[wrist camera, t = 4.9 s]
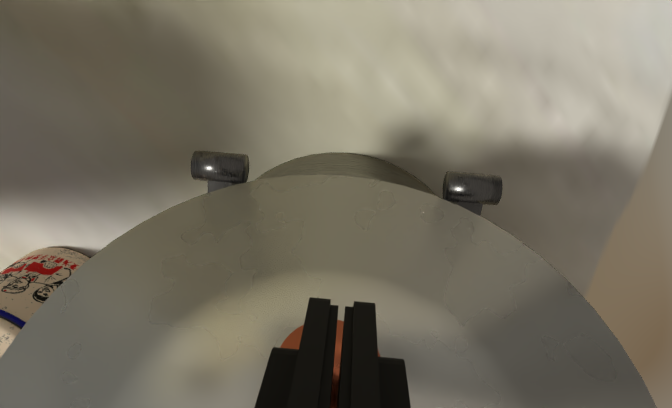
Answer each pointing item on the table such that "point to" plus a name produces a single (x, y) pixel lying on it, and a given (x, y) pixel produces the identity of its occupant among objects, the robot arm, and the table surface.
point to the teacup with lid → (32, 287)
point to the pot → (456, 186)
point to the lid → (292, 301)
